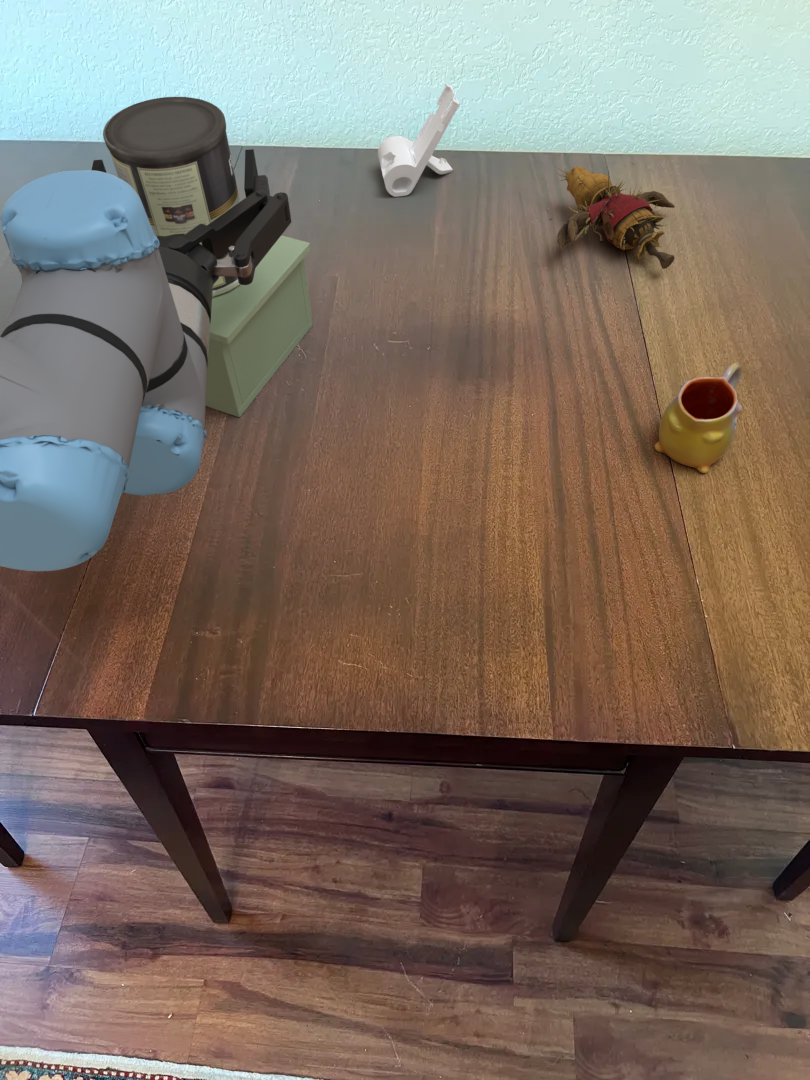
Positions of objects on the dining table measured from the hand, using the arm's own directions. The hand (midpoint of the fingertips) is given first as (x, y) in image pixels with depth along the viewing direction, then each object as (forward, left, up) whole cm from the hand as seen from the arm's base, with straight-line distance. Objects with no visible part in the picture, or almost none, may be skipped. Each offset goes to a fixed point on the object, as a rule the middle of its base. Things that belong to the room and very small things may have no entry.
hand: (177, 168), depth 72 cm
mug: (+51, -11, -20) cm, 56 cm away
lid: (+1, -2, -10) cm, 10 cm away
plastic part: (+20, +34, -20) cm, 44 cm away
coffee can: (+1, -2, -9) cm, 9 cm away
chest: (+1, -2, -20) cm, 20 cm away
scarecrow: (+45, +22, -20) cm, 54 cm away
